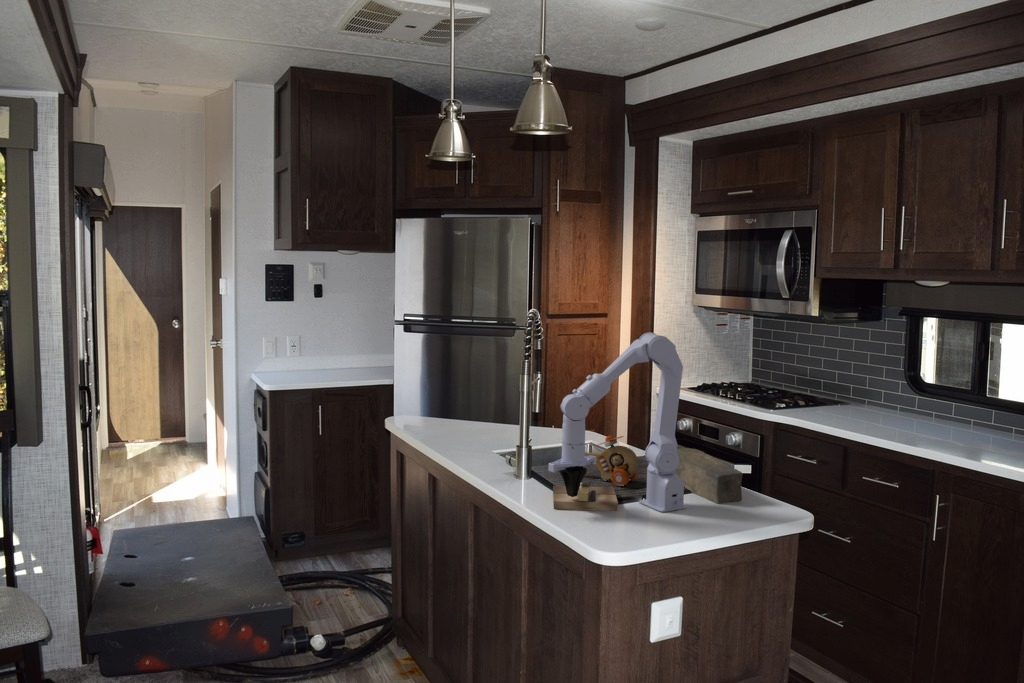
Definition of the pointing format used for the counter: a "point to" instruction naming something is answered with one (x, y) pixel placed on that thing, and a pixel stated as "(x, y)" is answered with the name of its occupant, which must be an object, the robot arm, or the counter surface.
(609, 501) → the lock board
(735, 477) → the weathered wooden bar
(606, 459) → the toy helicopter
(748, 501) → the counter surface
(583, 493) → the swing bar
